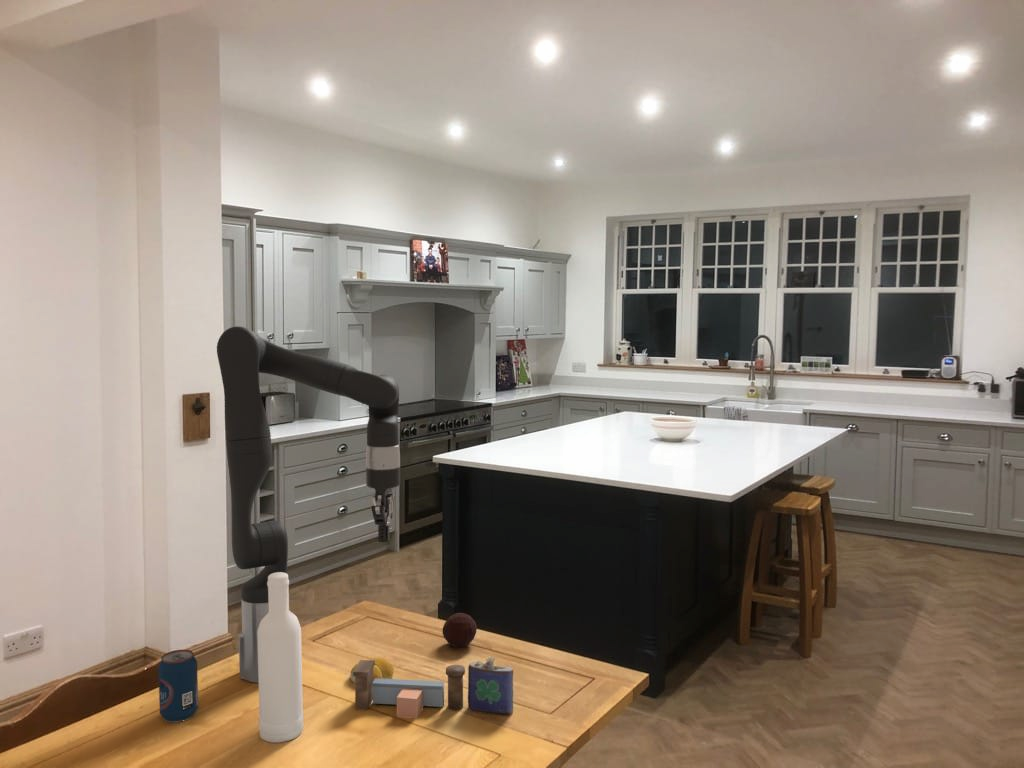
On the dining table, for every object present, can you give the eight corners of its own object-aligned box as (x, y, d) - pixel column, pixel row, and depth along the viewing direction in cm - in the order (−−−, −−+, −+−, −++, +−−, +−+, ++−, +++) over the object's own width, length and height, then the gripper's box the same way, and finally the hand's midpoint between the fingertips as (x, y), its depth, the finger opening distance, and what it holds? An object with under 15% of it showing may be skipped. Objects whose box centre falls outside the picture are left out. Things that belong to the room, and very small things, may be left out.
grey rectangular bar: (445, 702, 162) (444, 681, 161) (443, 707, 159) (442, 686, 159) (375, 699, 163) (375, 678, 163) (372, 704, 161) (372, 683, 160)
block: (416, 719, 156) (416, 699, 155) (397, 717, 156) (396, 697, 156) (422, 709, 160) (422, 689, 159) (403, 707, 160) (403, 687, 160)
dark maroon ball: (475, 637, 196) (475, 606, 195) (478, 652, 186) (478, 620, 186) (441, 638, 194) (441, 607, 194) (443, 654, 185) (443, 622, 185)
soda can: (153, 716, 156) (151, 656, 155) (187, 703, 162) (185, 645, 161) (170, 728, 152) (168, 666, 151) (205, 714, 157) (203, 654, 156)
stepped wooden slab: (353, 710, 159) (353, 672, 158) (360, 697, 164) (360, 659, 164) (368, 710, 159) (368, 672, 158) (375, 697, 164) (374, 660, 164)
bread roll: (400, 677, 174) (400, 659, 174) (367, 691, 168) (366, 672, 167) (377, 665, 180) (377, 648, 179) (343, 678, 173) (343, 660, 173)
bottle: (310, 723, 154) (307, 569, 151) (292, 745, 146) (289, 582, 143) (271, 720, 155) (267, 567, 153) (251, 741, 147) (247, 580, 145)
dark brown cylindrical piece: (444, 711, 159) (444, 672, 158) (447, 702, 162) (447, 664, 162) (463, 711, 158) (463, 673, 158) (466, 702, 162) (466, 665, 161)
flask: (514, 710, 159) (514, 657, 158) (510, 717, 156) (510, 663, 155) (470, 704, 162) (469, 652, 161) (465, 711, 159) (465, 658, 158)
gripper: (393, 470, 173) (394, 550, 174) (405, 460, 186) (406, 533, 188) (359, 470, 173) (360, 549, 175) (373, 459, 187) (374, 533, 188)
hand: (384, 541), depth 181 cm, fingers closed
